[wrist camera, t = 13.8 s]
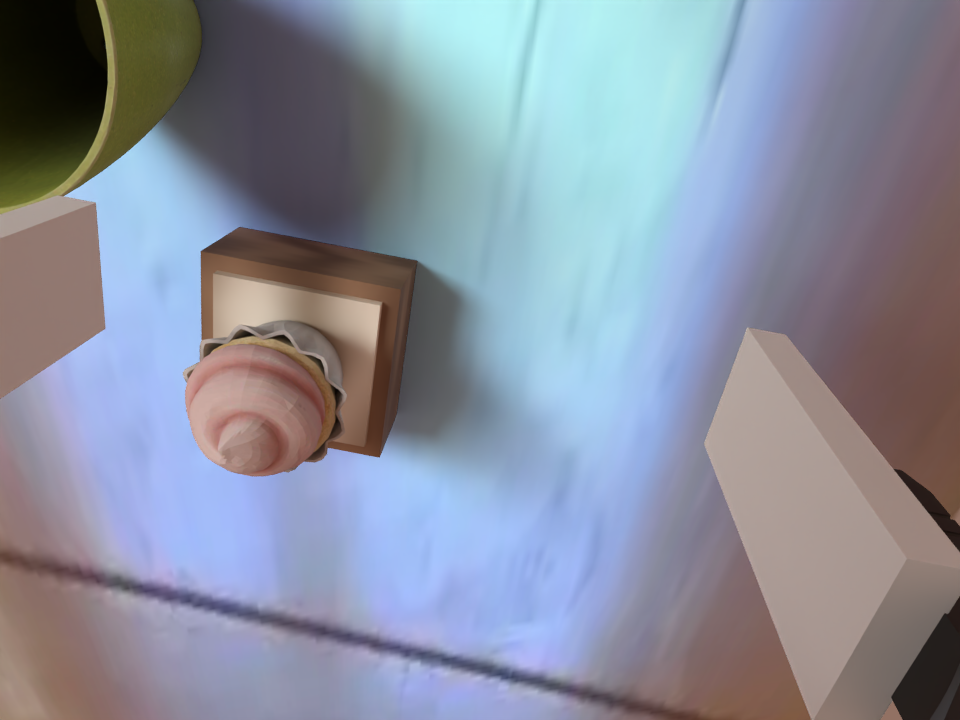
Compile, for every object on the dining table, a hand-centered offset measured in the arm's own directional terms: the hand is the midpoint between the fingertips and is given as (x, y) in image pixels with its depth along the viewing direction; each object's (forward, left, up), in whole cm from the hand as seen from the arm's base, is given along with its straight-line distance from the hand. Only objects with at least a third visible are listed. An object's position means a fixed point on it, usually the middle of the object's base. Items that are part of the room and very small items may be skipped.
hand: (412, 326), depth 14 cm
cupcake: (-10, -15, -25) cm, 30 cm away
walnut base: (-10, -15, -31) cm, 36 cm away
